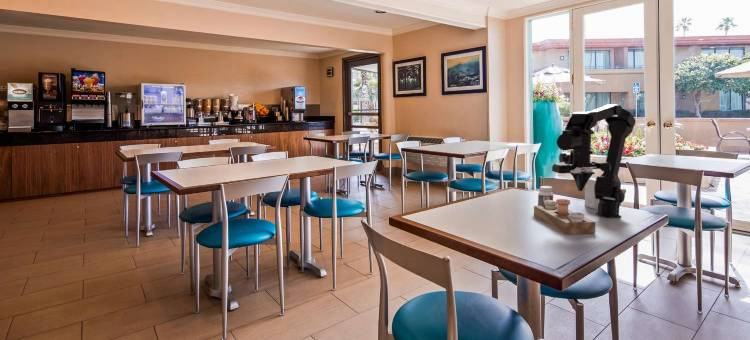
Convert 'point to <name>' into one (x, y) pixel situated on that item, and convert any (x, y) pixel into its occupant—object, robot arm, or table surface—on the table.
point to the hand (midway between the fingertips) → (580, 190)
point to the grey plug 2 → (576, 216)
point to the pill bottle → (544, 195)
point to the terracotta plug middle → (562, 206)
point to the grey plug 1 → (550, 204)
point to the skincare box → (590, 194)
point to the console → (564, 221)
